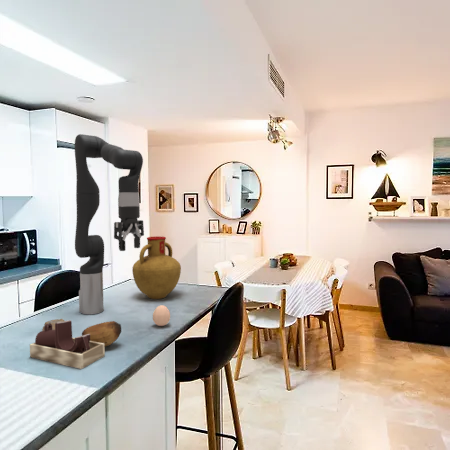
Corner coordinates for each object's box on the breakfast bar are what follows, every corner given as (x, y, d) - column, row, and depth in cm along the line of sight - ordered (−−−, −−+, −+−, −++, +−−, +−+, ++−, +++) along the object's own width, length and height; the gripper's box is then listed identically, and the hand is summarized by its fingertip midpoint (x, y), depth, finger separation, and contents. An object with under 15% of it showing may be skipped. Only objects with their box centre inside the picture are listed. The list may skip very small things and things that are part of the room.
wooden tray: (30, 357, 114) (29, 344, 114) (55, 346, 123) (55, 334, 122) (81, 369, 106) (81, 355, 105) (104, 356, 114) (104, 343, 114)
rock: (38, 334, 135) (47, 335, 128) (40, 317, 136) (50, 318, 129) (62, 334, 141) (72, 336, 133) (64, 318, 142) (74, 319, 135)
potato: (85, 357, 121) (88, 336, 128) (125, 347, 122) (126, 327, 128) (75, 344, 117) (79, 323, 123) (116, 334, 117) (118, 313, 123)
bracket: (81, 355, 108) (79, 320, 109) (35, 358, 113) (33, 325, 114) (95, 350, 114) (93, 317, 115) (50, 354, 119) (48, 322, 120)
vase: (157, 289, 202) (157, 234, 200) (191, 295, 188) (190, 236, 186) (122, 298, 183) (121, 237, 181) (156, 306, 169) (155, 240, 167)
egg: (153, 329, 138) (153, 308, 138) (152, 323, 145) (151, 303, 144) (171, 327, 140) (171, 307, 139) (169, 322, 146) (169, 302, 146)
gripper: (132, 205, 143) (133, 246, 144) (107, 205, 130) (108, 251, 131) (148, 205, 140) (149, 247, 141) (124, 205, 127) (125, 252, 128)
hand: (129, 249), depth 136 cm, fingers open, 8 cm apart
